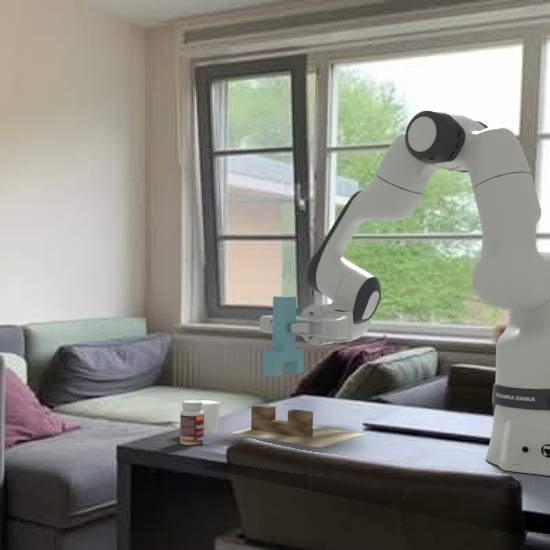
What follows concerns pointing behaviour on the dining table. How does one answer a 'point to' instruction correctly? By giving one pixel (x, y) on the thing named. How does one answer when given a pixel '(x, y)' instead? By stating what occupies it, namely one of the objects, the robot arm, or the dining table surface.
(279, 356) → the angled bracket
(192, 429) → the pill bottle
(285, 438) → the jig board
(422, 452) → the dining table surface
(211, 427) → the white cup
